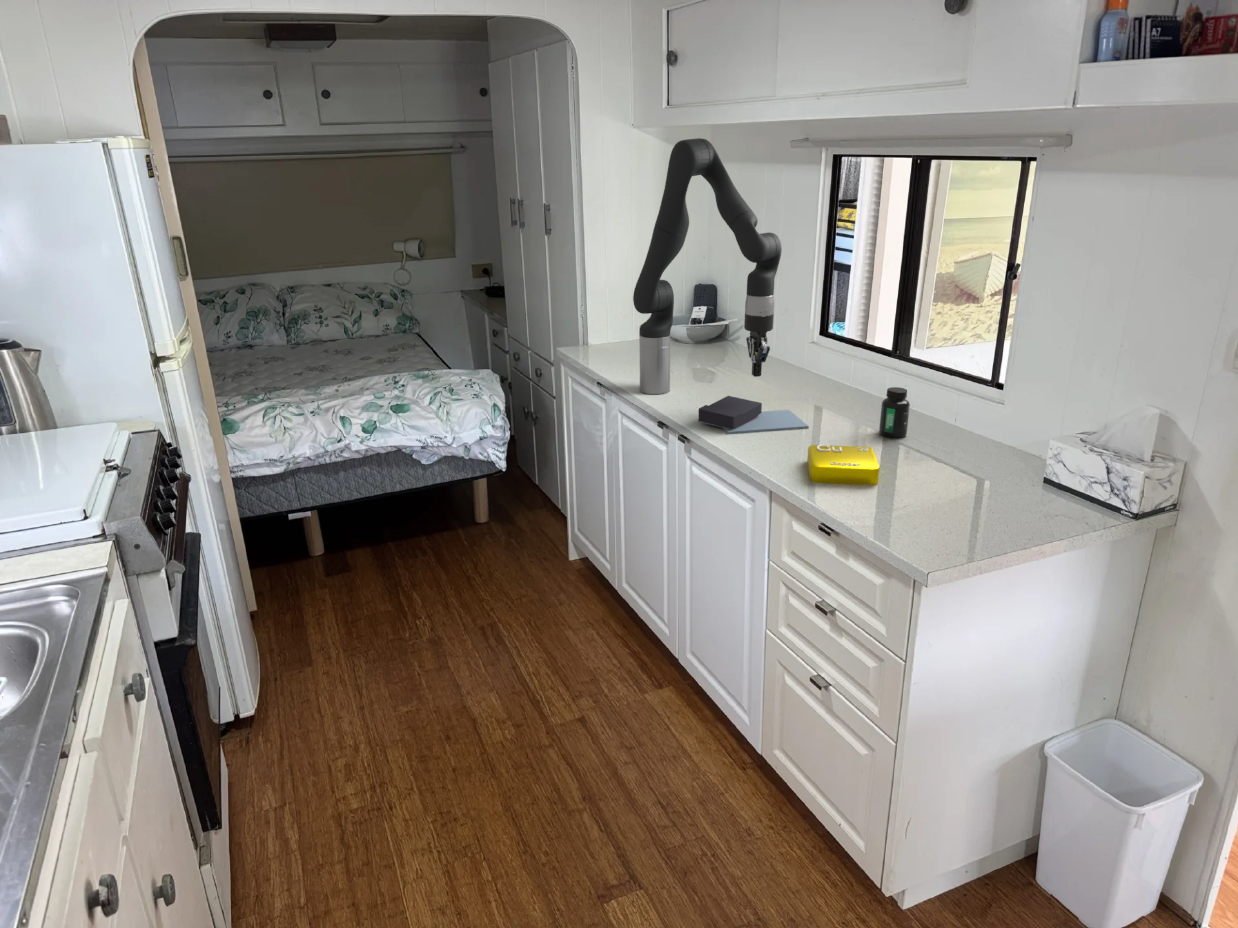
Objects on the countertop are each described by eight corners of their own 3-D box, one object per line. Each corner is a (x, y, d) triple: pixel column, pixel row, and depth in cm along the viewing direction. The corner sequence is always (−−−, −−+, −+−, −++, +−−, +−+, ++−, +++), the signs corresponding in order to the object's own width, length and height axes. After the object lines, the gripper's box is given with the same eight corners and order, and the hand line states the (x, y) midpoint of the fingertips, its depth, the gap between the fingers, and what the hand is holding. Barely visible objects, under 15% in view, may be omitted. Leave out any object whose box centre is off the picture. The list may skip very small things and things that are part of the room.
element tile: (809, 484, 191) (811, 464, 189) (806, 461, 205) (807, 442, 203) (879, 487, 189) (881, 467, 187) (871, 463, 203) (873, 444, 201)
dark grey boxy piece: (727, 407, 241) (697, 423, 230) (728, 393, 239) (697, 408, 228) (761, 415, 234) (732, 432, 224) (762, 400, 233) (733, 416, 222)
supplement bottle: (890, 440, 216) (895, 394, 212) (873, 432, 222) (877, 387, 218) (912, 436, 219) (917, 391, 214) (894, 429, 225) (899, 384, 220)
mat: (712, 417, 237) (712, 414, 237) (788, 411, 240) (788, 409, 240) (727, 434, 223) (728, 431, 223) (808, 428, 226) (808, 426, 226)
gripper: (738, 307, 230) (735, 370, 237) (753, 317, 218) (750, 383, 224) (764, 306, 231) (761, 369, 238) (781, 316, 219) (778, 381, 226)
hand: (756, 375), depth 231 cm, fingers closed
